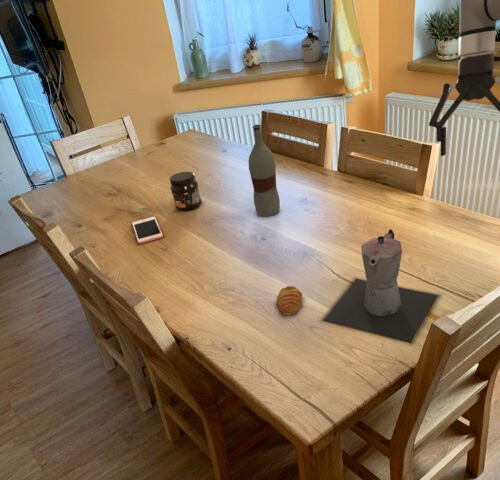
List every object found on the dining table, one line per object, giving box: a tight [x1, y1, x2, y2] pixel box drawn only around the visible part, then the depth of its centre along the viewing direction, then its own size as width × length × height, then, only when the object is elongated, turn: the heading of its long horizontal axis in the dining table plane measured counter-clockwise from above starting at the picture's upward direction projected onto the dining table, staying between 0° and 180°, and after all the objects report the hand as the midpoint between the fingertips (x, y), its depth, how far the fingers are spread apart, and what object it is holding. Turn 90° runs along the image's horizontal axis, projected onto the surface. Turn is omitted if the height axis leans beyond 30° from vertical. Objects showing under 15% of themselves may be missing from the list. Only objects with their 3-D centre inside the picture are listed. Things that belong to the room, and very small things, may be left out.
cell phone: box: [132, 216, 164, 245], centre depth 180 cm, size 9×18×1 cm, turn 18°
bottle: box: [248, 124, 281, 218], centre depth 169 cm, size 9×9×30 cm
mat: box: [323, 278, 439, 344], centre depth 124 cm, size 22×20×1 cm
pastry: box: [276, 285, 303, 316], centre depth 130 cm, size 9×7×4 cm
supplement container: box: [169, 171, 202, 212], centre depth 189 cm, size 10×10×12 cm
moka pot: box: [360, 228, 403, 316], centre depth 119 cm, size 10×15×20 cm, turn 154°
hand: (472, 152), depth 123 cm, fingers open, 13 cm apart
